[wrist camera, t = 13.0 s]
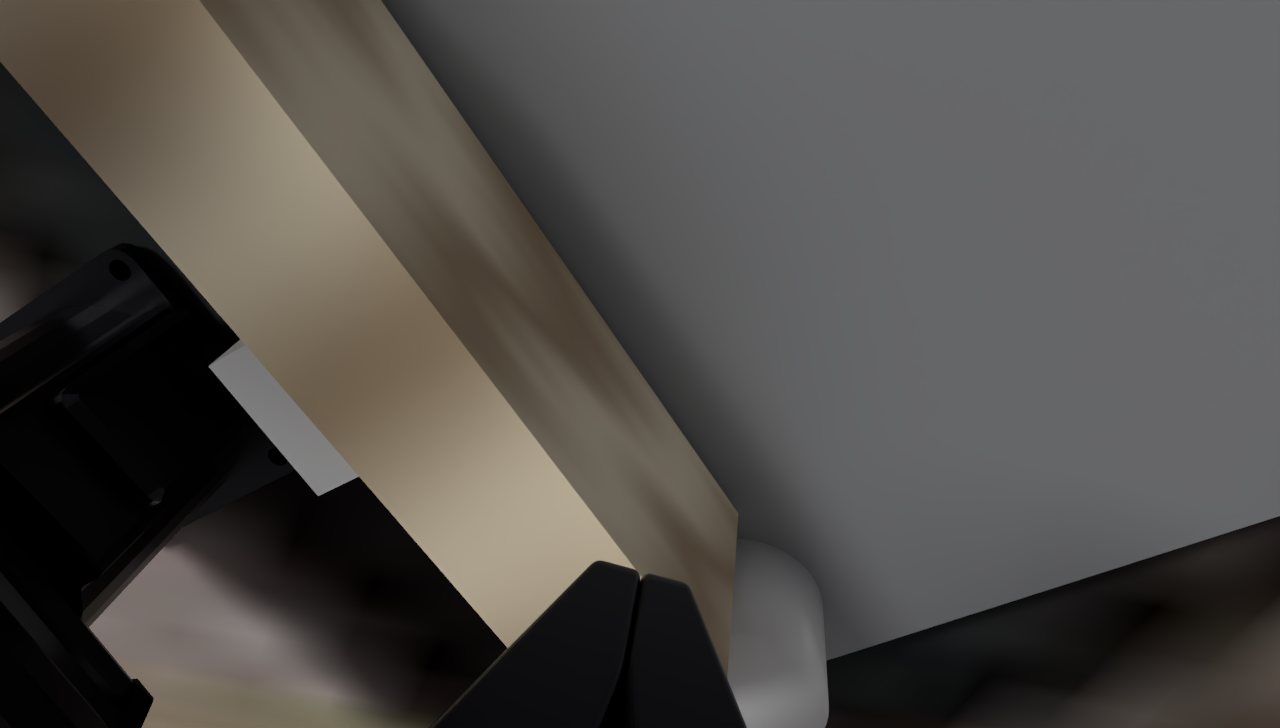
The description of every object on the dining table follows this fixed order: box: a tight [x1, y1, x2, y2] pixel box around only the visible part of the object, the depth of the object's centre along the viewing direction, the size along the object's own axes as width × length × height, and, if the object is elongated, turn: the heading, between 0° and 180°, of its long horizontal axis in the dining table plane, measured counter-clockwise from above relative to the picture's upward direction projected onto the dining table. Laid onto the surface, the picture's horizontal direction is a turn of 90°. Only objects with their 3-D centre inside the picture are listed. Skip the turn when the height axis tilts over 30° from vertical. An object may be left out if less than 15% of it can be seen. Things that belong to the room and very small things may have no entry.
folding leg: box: [0, 0, 738, 677], centre depth 16 cm, size 15×3×5 cm, turn 33°
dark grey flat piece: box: [208, 0, 1280, 728], centre depth 16 cm, size 22×20×5 cm
